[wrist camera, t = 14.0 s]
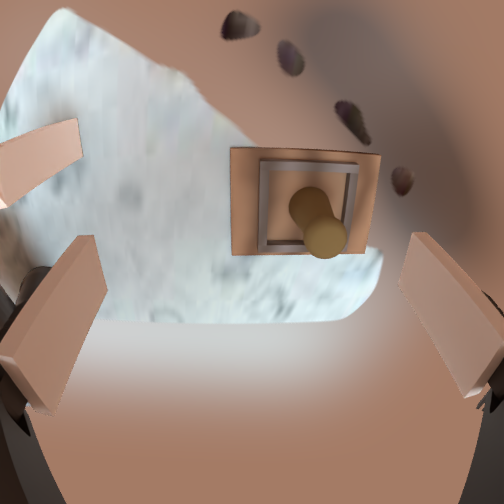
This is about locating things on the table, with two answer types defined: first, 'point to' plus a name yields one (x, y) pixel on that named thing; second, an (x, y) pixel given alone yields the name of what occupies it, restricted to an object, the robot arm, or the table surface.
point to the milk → (36, 158)
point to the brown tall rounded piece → (317, 222)
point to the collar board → (289, 182)
